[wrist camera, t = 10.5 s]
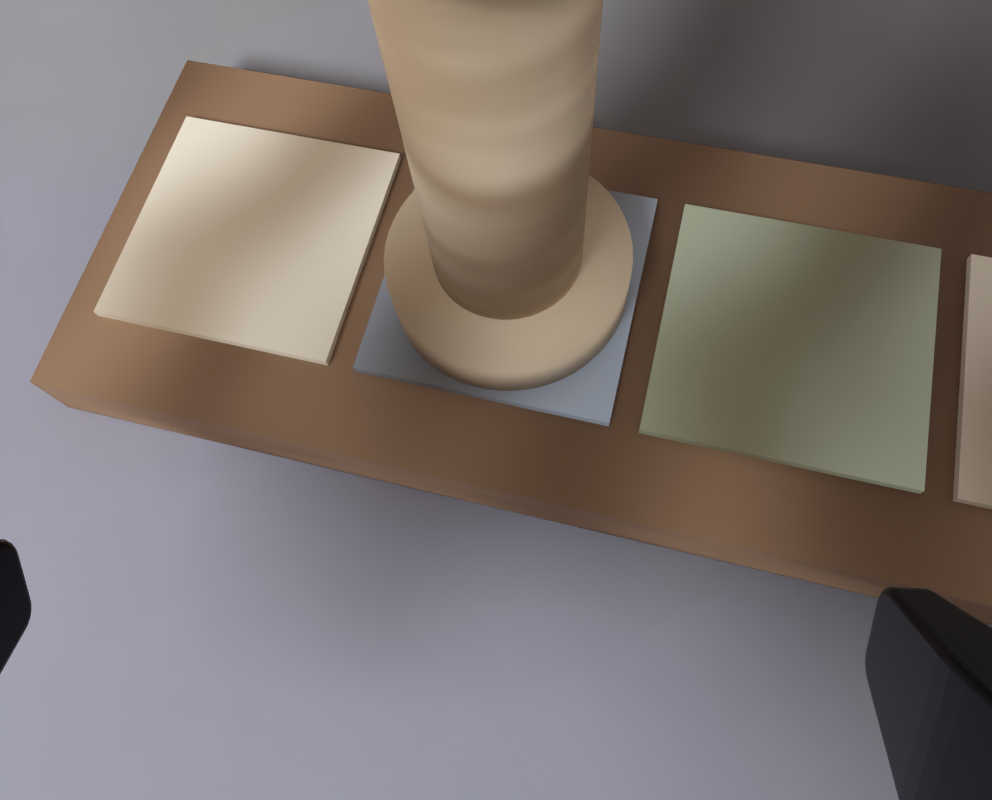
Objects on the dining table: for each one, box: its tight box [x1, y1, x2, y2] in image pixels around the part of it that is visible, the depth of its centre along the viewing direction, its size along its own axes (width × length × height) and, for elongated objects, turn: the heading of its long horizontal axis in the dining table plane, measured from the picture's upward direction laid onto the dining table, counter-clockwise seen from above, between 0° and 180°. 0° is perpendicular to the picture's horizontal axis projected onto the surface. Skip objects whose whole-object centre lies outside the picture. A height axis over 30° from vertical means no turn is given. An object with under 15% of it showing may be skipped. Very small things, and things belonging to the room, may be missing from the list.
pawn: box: [368, 0, 633, 391], centre depth 12 cm, size 5×5×13 cm
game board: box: [30, 60, 992, 624], centre depth 18 cm, size 25×9×2 cm, turn 76°
